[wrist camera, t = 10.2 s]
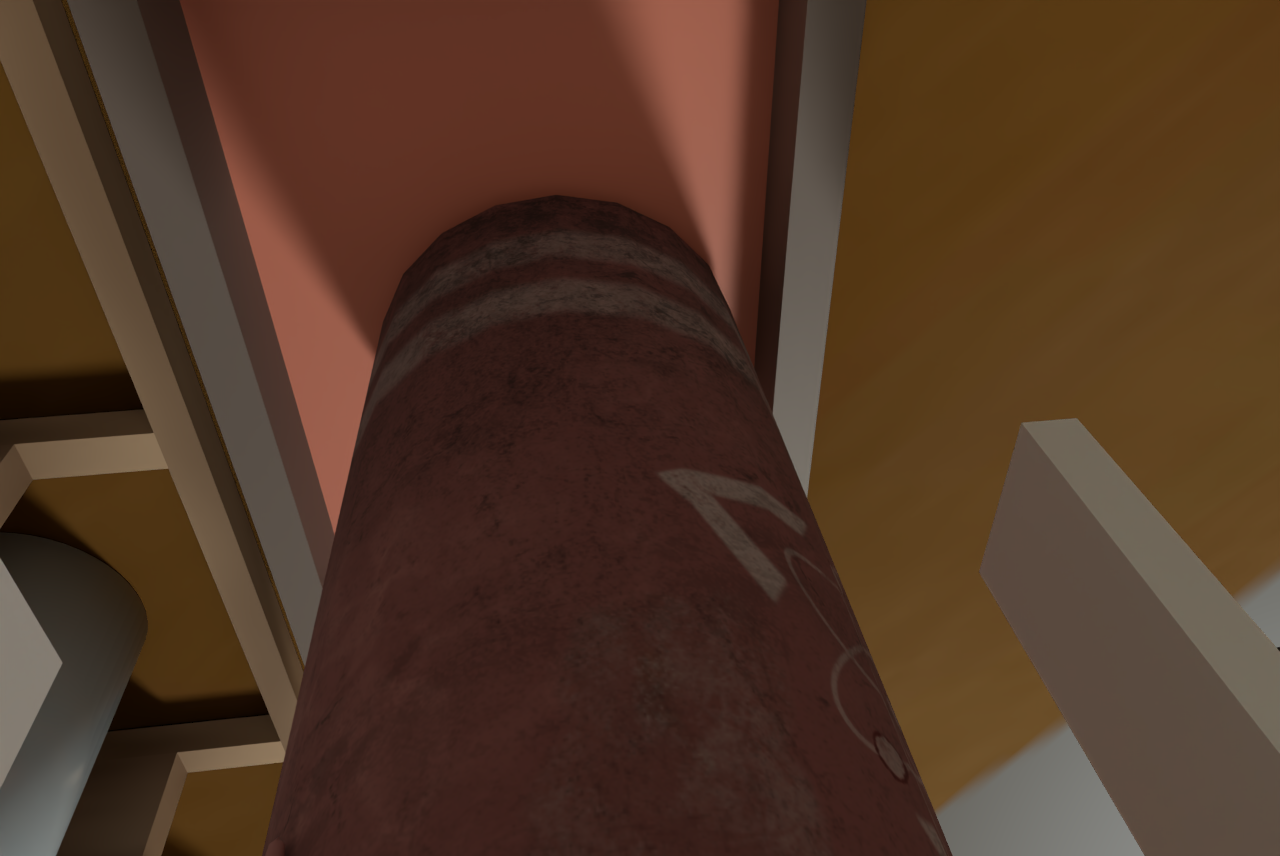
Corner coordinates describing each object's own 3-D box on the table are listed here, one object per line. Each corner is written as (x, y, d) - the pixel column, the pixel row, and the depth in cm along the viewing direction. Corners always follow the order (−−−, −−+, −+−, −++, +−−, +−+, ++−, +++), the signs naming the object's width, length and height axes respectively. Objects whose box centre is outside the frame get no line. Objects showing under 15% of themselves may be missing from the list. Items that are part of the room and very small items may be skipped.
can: (451, 107, 14) (196, 1651, 2) (791, 275, 16) (1448, 1462, 5) (322, 409, 17) (-72, 1767, 5) (626, 514, 19) (799, 1613, 8)
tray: (336, 642, 21) (322, 715, 19) (76, -175, 12) (8, -166, 10) (766, 599, 22) (786, 666, 20) (840, -194, 12) (888, -188, 11)
